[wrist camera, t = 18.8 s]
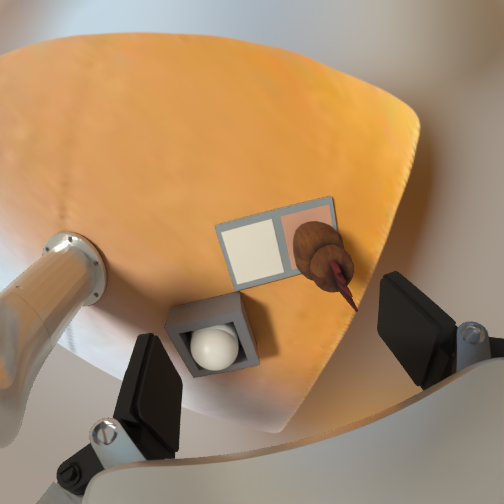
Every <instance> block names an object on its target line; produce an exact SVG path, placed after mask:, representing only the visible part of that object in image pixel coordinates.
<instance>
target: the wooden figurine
mask: <svg viewBox="0 0 504 504" xmlns="http://www.w3.org/2000/svg"><path fill="white" fill-rule="evenodd" d="M293 254H294V259H295V263H296V267H297V268H298V270H299V271H300V272H301V273H302V274H303V275H304V276H305V277H306V278H308V279H310V280H313V281H314V282H315V283H316V285H317V286H318V287H320V288H321V289H322V290H324V291H327V292H338V291H339V292H340V293H341V294H342V295H343V297H344V298H345V299H346V300H347V301H348V303H349V304H350V305H351V306H352V307H353V309H354V310H355V311H356V312H357V311H358V309H357V307H356V305H355V303H354V301H353V299H352V297H353V296H352V294H351V292H350V290H349V288H348V287H347V285H348V284H349V283H350V281H351V279H352V277H353V273H354V265H353V262H352V259H351V257H350V255H349V254H348V253H347V252H346V251H345V250H344V246H343V242H342V238H341V235H340V234H339V233H338V232H337V231H336V230H335V229H334V228H333V227H332V226H330V225H329V224H326V223H322V222H318V221H311V222H306V223H304V224H301V225H300V226H299V227H298V228H297V229H296V231H295V234H294V237H293Z"/></svg>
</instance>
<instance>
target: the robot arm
mask: <svg viewBox="0 0 504 504" xmlns="http://www.w3.org/2000/svg"><path fill="white" fill-rule="evenodd" d="M106 282H107V275H106V269H105V265H104V262H103V260H102V258H101V256H100V254H99V252H98V251H97V250H96V248H95V247H94V246H93V245H92V244H91V243H90V242H89V241H88V240H87V239H86V238H84V237H83V236H81V235H79V234H76V233H73V232H60V233H57V234H56V235H54V236H52V237H51V238H50V239H49V240H48V241H47V243H46V244H45V246H44V249H43V253H42V257H41V258H40V259H39V260H37V261H36V262H35V263H34V264H32V265H31V266H30V267H29V268H28V269H26V270H25V271H24V272H23V273H22V274H20V275H19V276H18V277H17V278H16V279H15V280H14V281H12V282H11V283H10V284H9V285H8V286H7V287H6V288H5V289H4V290H2V291H1V292H0V448H4V447H6V446H8V445H10V444H11V443H12V442H13V441H14V439H15V438H16V436H17V434H18V432H19V430H20V427H21V425H22V420H23V417H24V412H25V409H26V404H27V400H28V397H29V394H30V391H31V388H32V386H33V383H34V381H35V379H36V377H37V374H38V373H39V371H40V369H41V367H42V365H43V364H44V362H45V360H46V359H47V357H48V355H49V354H50V352H51V351H52V349H53V347H54V346H55V345H56V343H57V341H58V340H59V338H60V337H61V335H62V334H63V332H64V331H65V329H66V328H67V327H68V325H69V324H70V322H71V321H72V319H73V318H74V316H75V315H76V314H77V312H78V311H79V309H80V308H81V307H82V306H88V305H91V304H94V303H95V302H96V301H98V299H99V298H100V297H101V296H102V294H103V292H104V290H105V287H106ZM455 324H456V322H455V321H454V320H453V319H452V318H451V317H450V316H449V315H448V314H447V313H445V312H444V311H443V310H442V309H441V308H440V307H439V306H438V305H436V304H435V303H434V302H433V301H432V300H431V299H430V298H428V297H427V296H426V295H425V294H424V293H422V292H421V291H420V290H419V289H418V288H417V287H416V286H414V285H413V284H412V283H411V282H409V281H408V280H407V279H406V278H405V277H404V276H402V275H401V274H400V273H399V272H397V271H394V272H391V273H388V274H385V275H384V276H383V279H381V281H380V297H379V312H378V325H377V330H378V333H379V335H380V337H381V338H382V339H383V341H384V342H385V343H386V345H387V346H388V347H389V349H390V350H391V351H392V352H393V354H394V355H395V357H396V358H397V360H398V361H399V362H400V364H401V365H402V366H403V368H404V369H405V370H406V372H407V373H408V375H409V376H410V377H411V379H412V380H413V382H414V383H415V384H416V385H417V386H421V388H422V389H423V391H422V392H420V393H419V394H417V395H415V396H413V397H411V398H409V399H407V400H405V401H403V402H401V403H399V404H397V405H395V406H392V407H390V408H388V409H386V410H383V411H381V412H379V413H376V414H374V415H372V416H370V417H367V418H364V419H362V420H359V421H357V422H354V423H351V424H349V425H346V426H343V427H340V428H337V429H335V430H331V431H328V432H325V433H322V434H319V435H315V436H312V437H308V438H305V439H301V440H298V441H294V442H290V443H285V444H281V445H277V446H272V447H267V448H263V449H257V450H252V451H247V452H240V453H233V454H226V455H217V456H208V457H198V458H184V459H175V452H178V450H179V435H180V416H181V402H182V389H183V384H182V380H181V377H180V376H179V374H178V372H177V370H176V369H175V367H174V365H173V363H172V361H171V360H170V358H169V356H168V354H167V352H166V350H165V349H164V347H163V345H162V343H161V341H160V339H159V337H158V336H154V334H153V333H147V334H141V335H138V337H137V340H136V343H135V346H134V349H133V352H132V355H131V358H130V362H129V365H128V368H127V370H126V372H125V375H124V379H123V382H122V386H121V389H120V393H119V396H118V400H117V404H116V407H115V411H114V415H113V418H102V419H100V420H98V421H97V422H96V423H95V424H94V425H93V426H92V428H91V429H90V432H89V440H90V444H88V445H87V446H86V447H84V448H83V449H81V450H80V451H79V452H77V453H76V454H74V455H73V456H72V457H70V458H69V459H67V460H66V461H65V462H63V463H62V464H61V465H60V466H59V468H58V470H57V480H58V482H57V483H55V482H53V483H52V484H51V486H50V487H49V488H48V489H47V491H46V492H45V493H44V494H43V496H42V497H41V498H40V500H39V501H38V502H37V503H36V504H504V339H502V338H493V337H489V336H488V332H487V330H486V329H485V327H484V326H482V325H481V324H479V323H477V322H465V323H463V324H461V325H460V326H459V327H457V326H456V325H455ZM433 385H434V386H433ZM431 386H432V387H431Z"/></svg>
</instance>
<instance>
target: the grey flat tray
mask: <svg viewBox="0 0 504 504" xmlns="http://www.w3.org/2000/svg"><path fill="white" fill-rule="evenodd" d="M311 221H318V222H322V223H326V224H329V225H330V226H332V227H333V228H334V229H335V230H336V231H337V227H336V220H335V213H334V207H333V200H332V196H327V197H323V198H319V199H314V200H310V201H306V202H302V203H298V204H294V205H290V206H286V207H282V208H278V209H274V210H270V211H266V212H262V213H258V214H255V215H251V216H247V217H243V218H240V219H236V220H232V221H228V222H225V223H221V224H218V225H215V230H216V233H217V236H218V239H219V242H220V246H221V249H222V252H223V255H224V258H225V261H226V264H227V267H228V271H229V274H230V277H231V280H232V283H233V286H234V289H235V291H237V290H241V289H245V288H249V287H253V286H257V285H260V284H264V283H268V282H272V281H276V280H279V279H283V278H287V277H290V276H294V275H298V274H301V272H300V271H299V270H298V268H297V267H296V263H295V259H294V254H293V237H294V234H295V231H296V229H297V228H298V227H299V226H300V225H301V224H304V223H306V222H311Z"/></svg>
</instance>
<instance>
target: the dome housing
mask: <svg viewBox="0 0 504 504" xmlns="http://www.w3.org/2000/svg"><path fill="white" fill-rule="evenodd" d="M229 322H234V325H235V328H236V330H237V333H238V346H239V348H238V354H237V357H236V359H235V361H234V362H233V363H232V364H231V365H230V366H228V367H227V368H225V369H222V370H216V371H215V370H208V369H205V368H203V367H202V366H200V365H199V364H198V363H197V362H196V361H195V360H194V358H193V356H192V353H191V348H190V346H191V338H192V331H193V330H198V329H203V328H207V327H212V326H216V325H221V324H225V323H229ZM165 329H166V331H167V333H168V335H169V336H170V338H171V340H172V342H173V344H174V345H175V347H176V349H177V351H178V353H179V354H180V356H181V358H182V360H183V361H184V363H185V365H186V366H187V368H188V370H189V371H190V373H191V375H192V376H193V378H195V377H201V376H207V375H213V374H218V373H224V372H229V371H234V370H239V369H244V368H248V367H253V366H257V365H260V361H259V355H258V348H257V343H256V340H255V337H254V334H253V331H252V328H251V325H250V322H249V319H248V316H247V313H246V310H245V307H244V304H243V301H242V298H241V295H240V292H239V291H237V292H233V293H229V294H225V295H221V296H217V297H213V298H209V299H205V300H200V301H196V302H192V303H188V304H183V305H179V306H175V307H170V311H169V314H168V318H167V321H166V324H165Z"/></svg>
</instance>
